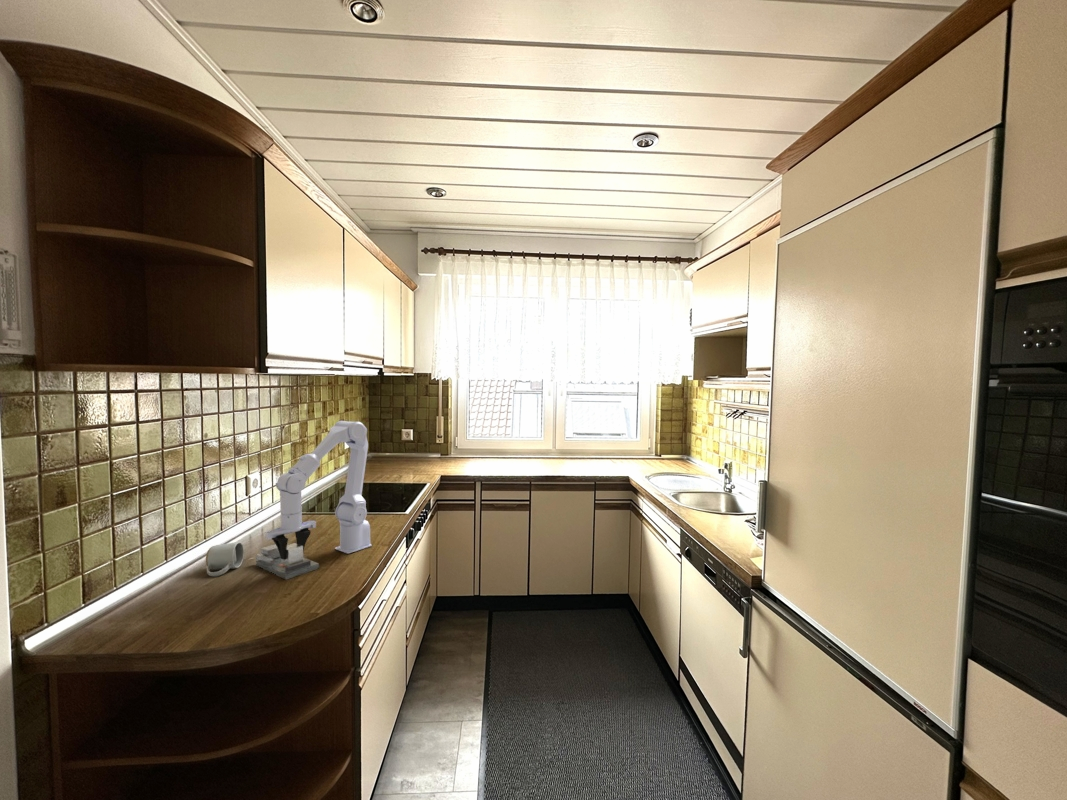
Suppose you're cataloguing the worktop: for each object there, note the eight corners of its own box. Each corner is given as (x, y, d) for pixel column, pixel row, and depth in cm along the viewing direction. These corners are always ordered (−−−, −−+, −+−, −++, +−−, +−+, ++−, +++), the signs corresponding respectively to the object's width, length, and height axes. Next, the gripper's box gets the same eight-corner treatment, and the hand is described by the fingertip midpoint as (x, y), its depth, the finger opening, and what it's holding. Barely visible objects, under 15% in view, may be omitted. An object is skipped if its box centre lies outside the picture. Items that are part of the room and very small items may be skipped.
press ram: (280, 551, 152) (280, 542, 152) (287, 554, 150) (286, 545, 150) (261, 557, 147) (261, 548, 147) (267, 560, 145) (267, 550, 145)
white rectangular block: (303, 561, 143) (302, 545, 143) (288, 566, 139) (288, 550, 139) (295, 558, 145) (294, 543, 145) (280, 563, 142) (280, 547, 141)
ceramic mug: (216, 564, 146) (215, 540, 146) (244, 562, 148) (243, 538, 147) (198, 578, 136) (198, 553, 135) (230, 576, 137) (229, 551, 137)
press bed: (286, 554, 154) (286, 546, 154) (318, 568, 143) (318, 558, 143) (254, 564, 146) (253, 555, 146) (286, 579, 135) (286, 569, 135)
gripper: (307, 505, 150) (307, 546, 150) (259, 515, 138) (260, 560, 138) (319, 508, 146) (319, 551, 146) (271, 519, 134) (272, 566, 134)
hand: (292, 556), depth 142 cm, fingers closed on white rectangular block, 4 cm apart
